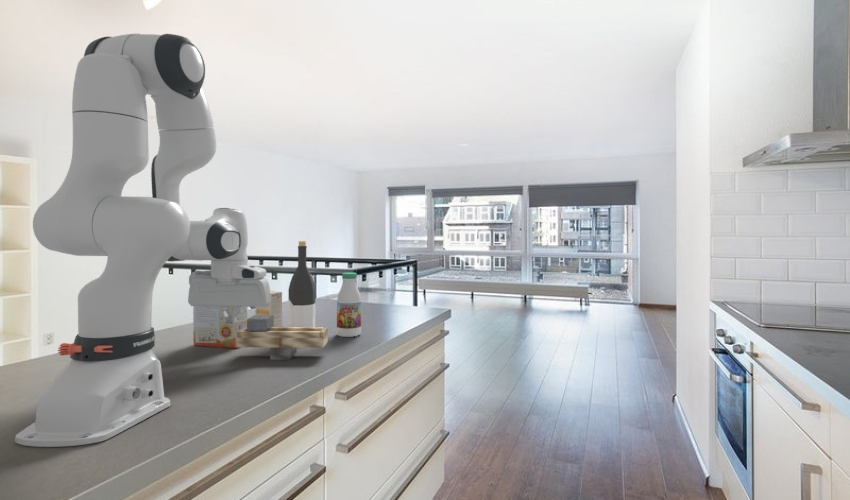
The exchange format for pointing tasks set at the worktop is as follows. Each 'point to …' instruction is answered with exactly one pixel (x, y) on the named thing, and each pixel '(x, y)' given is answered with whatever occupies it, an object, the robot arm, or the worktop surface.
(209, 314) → the cracker box
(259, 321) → the block
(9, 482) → the worktop surface
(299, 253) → the wine bottle
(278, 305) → the supplement box
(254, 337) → the beam
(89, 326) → the robot arm
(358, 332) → the milk bottle
